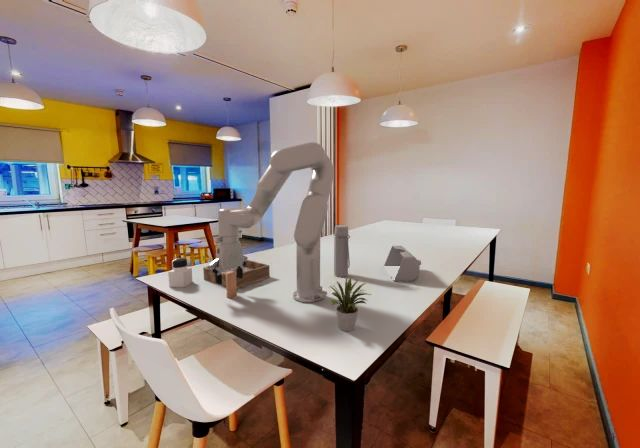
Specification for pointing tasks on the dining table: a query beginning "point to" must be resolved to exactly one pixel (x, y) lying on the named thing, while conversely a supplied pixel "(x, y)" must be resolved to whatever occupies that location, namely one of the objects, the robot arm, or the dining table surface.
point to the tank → (403, 263)
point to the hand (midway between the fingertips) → (229, 280)
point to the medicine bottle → (180, 273)
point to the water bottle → (341, 251)
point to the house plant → (347, 305)
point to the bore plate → (236, 270)
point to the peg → (231, 284)
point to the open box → (249, 277)
